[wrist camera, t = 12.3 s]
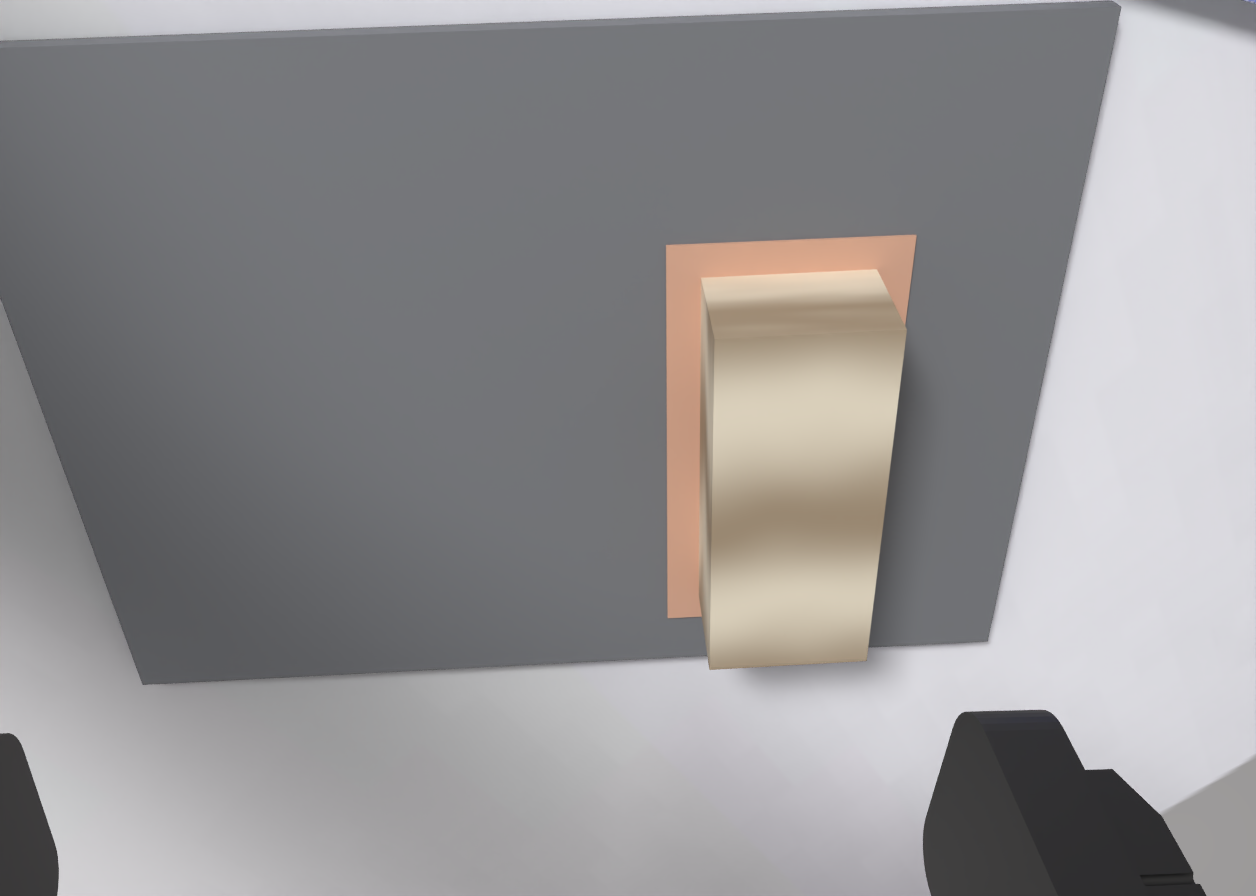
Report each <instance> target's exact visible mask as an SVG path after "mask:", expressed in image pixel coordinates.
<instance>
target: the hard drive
mask: <svg viewBox="0 0 1256 896" xmlns="http://www.w3.org/2000/svg"><path fill="white" fill-rule="evenodd" d="M1243 1H1246V2H1249V3H1253V4H1256V0H1243Z"/></svg>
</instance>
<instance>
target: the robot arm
mask: <svg viewBox="0 0 1256 896" xmlns="http://www.w3.org/2000/svg"><path fill="white" fill-rule="evenodd" d="M923 855H924V865H925V871H926V877H927V881H928V886H929V889H930V893H931V896H1206V894H1205V892H1204V890H1203V889H1202V887H1201V885H1200V884H1195V882H1194V880H1193V871H1192V869H1191V867H1190V866H1189V864H1188V862H1187V860H1186V858H1185V857H1184V855H1183V853H1182V851H1181V850H1180V848H1179V846H1178V844H1177V842H1176V841H1175V839H1174V837H1173V836H1172V834H1171V832H1170V830H1169V828H1168V827H1167V825H1166V823H1165V821H1164V819H1163V818H1162V816H1161V815H1160V814H1159V813H1158V812H1157V811H1155V810H1154V809H1153V808H1152V807H1151V806H1150V805H1149V804H1148V803H1147V802H1146V801H1145V800H1144V799H1143V798H1142V797H1141V796H1140V795H1139V794H1138V793H1137V792H1136V791H1135V790H1134V789H1133V788H1131V787H1130V786H1129V785H1128V784H1127V783H1126V782H1125V781H1124V780H1123V779H1122V778H1121V777H1120V776H1119V775H1118V774H1117V773H1116V772H1115V771H1114V770H1113V769H1103V770H1085V769H1084V767H1083V765H1082V763H1081V761H1080V759H1079V758H1078V756H1077V754H1076V752H1075V750H1074V748H1073V746H1072V744H1071V742H1070V740H1069V738H1068V736H1067V734H1066V732H1065V731H1064V729H1063V727H1062V725H1061V724H1060V722H1059V721H1058V719H1057V718H1056V717H1055V716H1054V715H1053V714H1052V713H1050V712H1048V711H1046V710H1017V711H979V712H964V713H961V714H960V715H959V716H958V718H957V719H956V721H955V724H954V726H953V729H952V733H951V736H950V739H949V743H948V746H947V749H946V752H945V756H944V759H943V762H942V766H941V769H940V772H939V776H938V779H937V782H936V786H935V789H934V792H933V796H932V799H931V802H930V805H929V809H928V812H927V815H926V819H925V824H924V832H923ZM58 879H59V867H58V856H57V850H56V846H55V843H54V840H53V837H52V834H51V831H50V828H49V825H48V822H47V819H46V816H45V813H44V810H43V807H42V804H41V801H40V798H39V795H38V792H37V789H36V786H35V783H34V780H33V777H32V774H31V771H30V768H29V765H28V762H27V759H26V756H25V753H24V750H23V748H22V745H21V743H20V742H19V740H18V739H17V738H16V737H15V736H14V735H12V734H10V733H3V734H0V896H57V892H58Z"/></svg>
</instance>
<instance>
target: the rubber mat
mask: <svg viewBox="0 0 1256 896" xmlns="http://www.w3.org/2000/svg"><path fill="white" fill-rule="evenodd" d="M1120 11H1121V6H1119V5H1118V4H1116V3H1115V2H1113V1H1090V2H1063V3H1035V4H1008V5H980V6H953V7H925V8H898V9H870V10H843V11H815V12H788V13H760V14H733V15H705V16H678V17H650V18H623V19H595V20H568V21H541V22H513V23H486V24H458V25H431V26H403V27H376V28H348V29H321V30H293V31H266V32H238V33H211V34H183V35H156V36H128V37H101V38H73V39H46V40H18V41H0V297H1V300H2V303H3V306H4V308H5V311H6V314H7V317H8V319H9V322H10V325H11V327H12V330H13V333H14V336H15V338H16V341H17V344H18V346H19V349H20V352H21V355H22V357H23V360H24V363H25V366H26V368H27V371H28V374H29V376H30V379H31V382H32V385H33V387H34V390H35V393H36V395H37V398H38V401H39V404H40V406H41V409H42V412H43V415H44V417H45V420H46V423H47V425H48V428H49V431H50V434H51V436H52V439H53V442H54V444H55V447H56V450H57V453H58V455H59V458H60V461H61V464H62V466H63V469H64V472H65V474H66V477H67V480H68V483H69V485H70V488H71V491H72V493H73V496H74V499H75V502H76V504H77V507H78V510H79V513H80V515H81V518H82V521H83V523H84V526H85V529H86V532H87V534H88V537H89V540H90V542H91V545H92V548H93V551H94V553H95V556H96V559H97V562H98V564H99V567H100V570H101V572H102V575H103V578H104V581H105V583H106V586H107V589H108V591H109V594H110V597H111V600H112V602H113V605H114V608H115V610H116V613H117V616H118V619H119V621H120V624H121V627H122V630H123V632H124V635H125V638H126V640H127V643H128V646H129V649H130V651H131V654H132V657H133V659H134V662H135V665H136V668H137V670H138V673H139V676H140V679H141V681H142V684H143V685H148V684H168V683H187V682H206V681H226V680H245V679H265V678H284V677H304V676H323V675H343V674H362V673H381V672H401V671H420V670H440V669H459V668H479V667H498V666H518V665H537V664H556V663H576V662H595V661H615V660H634V659H654V658H673V657H692V656H707V649H706V642H705V635H704V628H703V621H702V615H701V608H700V601H699V484H700V349H701V278H707V277H727V276H748V275H768V274H789V273H810V272H830V271H851V270H871V269H877V270H878V272H879V274H880V276H881V278H882V281H883V283H884V285H885V287H886V289H887V291H888V293H889V295H890V297H891V299H892V301H893V303H894V305H895V307H896V309H897V311H898V313H899V315H900V317H901V319H902V321H903V323H904V325H905V327H906V329H907V333H906V341H905V350H904V358H903V366H902V374H901V382H900V391H899V399H898V407H897V415H896V423H895V432H894V440H893V448H892V456H891V464H890V473H889V481H888V489H887V497H886V505H885V513H884V522H883V530H882V538H881V546H880V554H879V563H878V571H877V579H876V587H875V595H874V604H873V612H872V620H871V628H870V636H869V645H868V647H887V646H906V645H926V644H945V643H965V642H984V641H988V637H989V632H990V628H991V623H992V618H993V613H994V609H995V604H996V599H997V594H998V590H999V585H1000V580H1001V575H1002V571H1003V566H1004V561H1005V556H1006V552H1007V547H1008V542H1009V537H1010V533H1011V528H1012V523H1013V518H1014V514H1015V509H1016V504H1017V499H1018V495H1019V490H1020V485H1021V481H1022V476H1023V471H1024V466H1025V462H1026V457H1027V452H1028V447H1029V443H1030V438H1031V433H1032V428H1033V424H1034V419H1035V414H1036V409H1037V405H1038V400H1039V395H1040V390H1041V386H1042V381H1043V376H1044V371H1045V367H1046V362H1047V357H1048V352H1049V348H1050V343H1051V338H1052V333H1053V329H1054V324H1055V319H1056V315H1057V310H1058V305H1059V300H1060V296H1061V291H1062V286H1063V281H1064V277H1065V272H1066V267H1067V262H1068V258H1069V253H1070V248H1071V243H1072V239H1073V234H1074V229H1075V224H1076V220H1077V215H1078V210H1079V205H1080V201H1081V196H1082V191H1083V186H1084V182H1085V177H1086V172H1087V167H1088V163H1089V158H1090V153H1091V149H1092V144H1093V139H1094V134H1095V130H1096V125H1097V120H1098V115H1099V111H1100V106H1101V101H1102V96H1103V92H1104V87H1105V82H1106V77H1107V73H1108V68H1109V63H1110V58H1111V54H1112V49H1113V44H1114V39H1115V35H1116V30H1117V25H1118V20H1119V16H1120Z"/></svg>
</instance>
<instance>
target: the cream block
mask: <svg viewBox="0 0 1256 896" xmlns="http://www.w3.org/2000/svg"><path fill="white" fill-rule="evenodd" d="M906 333H907V329H906V327H905V325H904V323H903V321H902V319H901V317H900V315H899V313H898V311H897V309H896V307H895V305H894V303H893V301H892V299H891V297H890V295H889V293H888V291H887V289H886V287H885V285H884V283H883V281H882V278H881V276H880V274H879V272H878V270H877V269H871V270H851V271H830V272H810V273H789V274H768V275H748V276H727V277H707V278H701V349H700V484H699V601H700V608H701V615H702V621H703V628H704V635H705V642H706V649H707V656H708V663H709V669H710V670H715V669H732V668H750V667H768V666H786V665H803V664H821V663H839V662H856V661H867V653H868V645H869V636H870V628H871V620H872V612H873V604H874V595H875V587H876V579H877V571H878V563H879V554H880V546H881V538H882V530H883V522H884V513H885V505H886V497H887V489H888V481H889V473H890V464H891V456H892V448H893V440H894V432H895V423H896V415H897V407H898V399H899V391H900V382H901V374H902V366H903V358H904V350H905V341H906Z"/></svg>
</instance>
